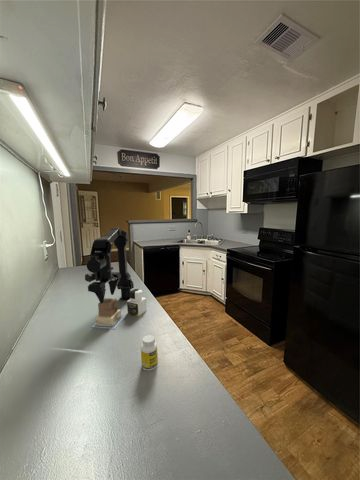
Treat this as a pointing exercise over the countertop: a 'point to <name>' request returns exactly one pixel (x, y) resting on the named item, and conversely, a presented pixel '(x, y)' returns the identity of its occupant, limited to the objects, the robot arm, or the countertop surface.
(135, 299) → the medicine bottle
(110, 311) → the walnut cube
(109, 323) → the maple slab
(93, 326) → the blueprint board
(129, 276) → the robot arm
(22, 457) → the countertop surface
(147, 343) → the supplement bottle
